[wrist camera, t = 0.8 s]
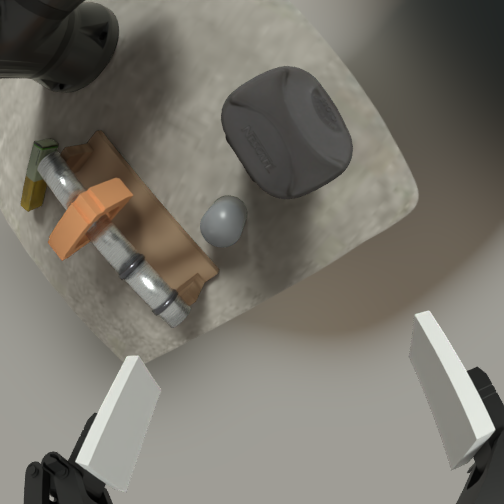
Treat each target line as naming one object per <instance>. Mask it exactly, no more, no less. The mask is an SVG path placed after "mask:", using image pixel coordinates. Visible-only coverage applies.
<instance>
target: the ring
mask: <svg viewBox="0 0 504 504" xmlns="http://www.w3.org/2000/svg"><path fill="white" fill-rule="evenodd" d="M132 196H133V194H132V193H131V192H130V190H129V189H128V188H127V187H126V186H125V184H124V183H123V182H122V181H121V180H120V178H117V177H116V178H113V179H111V180H108V181H105V182H103V183H100V184H98V185H95V186H93V187H90V188H89V189H88V190H87V191H86V192H83V193H81V194H80V195H79V196H78V197H77V199H76V200H75V201H74V202H73V203H71V205H70V206H69V207H68V209H67V210H66V212H65V213H64V215H63V216H62V218H61V219H60V221H59V222H58V224H57V225H56V227H55V228H54V230H53V232H52V233H51V235H50V236H49V238H50V239H49V241H48V243H49V245H50V246H51V247H52V249H53V250H54V251H55V252H56V254H57V255H58V256H59V257H60V259H61V260H62V261H63V260H64V259H66V258H68V257H69V256H71V255H72V254H74V253H75V252H76V251H78V250H79V249H80V248H82V247H83V246H84V245H86V244H87V243H89V242H90V240H89V239H88V237H87V236H86V235H85V233H86V232H87V231H88V229H89V228H90V227H91V226H92V224H93V223H94V222H96V221H97V220H98V219H99V218H100V217H101V216H102V215H104V214H106V215H107V216H108V217H109V218H110V220H112V219H113V218H114V217H115V216H116V215H117V214H118V212H119V211H120V210H121V209H122V208H123V207H124V206H125V205H126V204H127V203H128V202H129V200H130V198H131V197H132Z"/></svg>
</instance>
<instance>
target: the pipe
mask: <svg viewBox="0 0 504 504" xmlns="http://www.w3.org/2000/svg"><path fill="white" fill-rule="evenodd" d="M37 170H38V172H39V173H40V175H41V176H42V178H43V179H44V181H45V182H46V183H47V185H48V186H49V188H50V189H51V191H52V192H53V193H54V195H55V196H56V197H57V199H58V200H59V202H60V203H61V204H62V206H63V207H64V208H65V210H67V209H68V207H69V206H70V205H71V203H73V202H74V201H75V200H76V199H77V197H78V196H79V195H80V194H81V193H83V192H86V191H87V190H86V188H85V187H84V186H83V185H82V183H81V182H80V181H79V179H78V178H77V177H76V175H75V174H74V173H73V171H72V170H71V169H70V167H69V166H68V165H67V163H66V162H65V161H64V159H63V158H62V156H61V155H60V154H59V152H57V151H55V152H52V153H50V154H48V155H47V156H46V157H45V158H44V159H43V160H42V161H41V162H40V164H39V165H38V168H37ZM85 235H86V236H87V237H88V239H89V240H90V241H91V242H92V243H93V245H94V246H95V247H96V248H97V249H98V251H99V252H100V253H101V254H102V255H103V256H104V258H105V259H106V260H107V261H108V262H109V263H110V264H111V266H112V267H113V268H114V269H115V270H116V271H117V272H118V273H119V278H120V279H121V280H123V279H124V280H125V281H126V282H127V283H128V284H129V285H130V286H131V288H132V289H133V290H134V291H135V292H136V293H137V294H138V295H139V296H140V297H141V298H142V299H143V300H144V301H145V302H146V303H147V304H148V305H149V306H150V307H151V308H152V309H153V310H152V312H153V313H154V314H155V315H159V316H160V317H161V318H162V319H163V320H164V321H165V322H166V323H167V324H168V325H169V326H170V327H171V328H174V327H176V326H177V325H179V324H180V323H181V322H182V321H183V320H184V319H185V318H186V317H187V315H188V314H189V312H190V310H191V308H190V307H189V306H188V305H187V304H186V302H185V301H184V300H183V299H182V298H181V297H180V296H179V295H178V291H177V290H176V289H172V288H171V287H170V286H169V285H168V284H167V283H166V282H165V281H164V280H163V278H162V277H161V276H160V275H159V274H158V273H157V272H156V271H155V270H154V269H153V268H152V267H151V266H150V264H149V263H148V262H147V261H146V260H145V259H144V258H145V256H144V255H143V254H140V253H139V252H138V251H137V250H136V249H135V248H134V247H133V245H132V244H131V243H130V242H129V241H128V240H127V238H126V237H125V236H124V235H123V234H122V233H121V231H120V230H119V229H118V228H117V227H116V226H115V224H114V223H113V222H112V221H111V220H110V218H109V217H108V216H107V215H106V214H104V215H102V216H101V217H100V218H99V219H98V220H97V221H96V222H94V223H93V224H92V226H91V227H90V228H89V229H88V231H87V232H86V233H85Z"/></svg>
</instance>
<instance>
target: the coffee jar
mask: <svg viewBox="0 0 504 504" xmlns="http://www.w3.org/2000/svg"><path fill="white" fill-rule="evenodd" d="M221 121H222V126H223V130H224V132H225V134H226V140H227V142H228V143H229V145H230V146H231V148H232V149H233V151H234V152H235V154H236V155H237V157H238V158H239V160H240V161H241V163H242V164H243V166H244V168H245V169H246V171H247V173H248V174H249V176H250V178H251V179H252V180H253V181H254V182H256V183H257V184H258V185H259V186H260V187H261V188H262V189H263V190H264V191H265V192H267V193H268V194H270V195H272V196H274V197H277V198H281V199H293V198H298V197H301V196H303V195H306V194H308V193H310V192H313V191H315V190H317V189H319V188H320V187H322V186H324V185H326V184H328V183H329V182H331V181H332V180H334V179H335V178H337V177H338V176H339V175H341V174H342V173H343V172H344V171H345V170H346V168H347V167H348V165H349V163H350V161H351V158H352V152H353V145H352V139H351V136H350V133H349V131H348V129H347V127H346V125H345V123H344V121H343V119H342V117H341V115H340V113H339V111H338V109H337V107H336V106H335V104H334V103H333V101H332V100H331V98H330V97H329V95H328V94H327V92H326V91H325V90H324V88H323V87H322V85H321V84H320V83H319V82H318V80H317V79H316V78H315V77H314V76H312V75H311V74H310V73H308V72H306V71H304V70H302V69H300V68H297V67H290V66H283V67H278V68H274V69H272V70H269V71H267V72H264V73H262V74H260V75H258V76H256V77H254V78H253V79H251V80H249V81H248V82H246V83H244V84H243V85H241V86H240V87H238V88H237V89H236V90H235V91H233V92H232V93H231V94H230V95H229V97H228V98H227V99H226V101H225V103H224V105H223V108H222V113H221Z"/></svg>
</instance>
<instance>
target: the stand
mask: <svg viewBox="0 0 504 504" xmlns="http://www.w3.org/2000/svg"><path fill="white" fill-rule="evenodd" d="M60 155H61V156H62V158H63V159H64V161H65V162H66V163H67V165H68V166H69V167H70V169H71V170H72V171H73V173H74V174H75V175H76V177H77V178H78V179H79V181H80V182H81V183H82V185H83V186H84V187H85V188H86V190H88V189H89V188H90V187H93V186H95V185H98V184H100V183H103V182H105V181H108V180H111V179H113V178H116V177H117V178H120V180H121V181H122V182H123V183H124V184H125V186H126V187H127V188H128V189H129V190H130V192H131V193H132V194H133V196H132V197H131V198H130V200H129V202H128V203H127V204H126V205H125V206H124V207H123V208H122V209H121V210H120V211H119V212H118V214H117V215H116V216H115V217H114V218H113V219H112V220H111V221H112V222H113V223H114V224H115V226H116V227H117V228H118V229H119V230H120V231H121V233H122V234H123V235H124V236H125V237H126V238H127V240H128V241H129V242H130V243H131V244H132V245H133V247H134V248H135V249H136V250H137V251H138V252H139V253H140V254H143V255H144V256H145V258H144V259H145V260H146V261H147V262H148V263H149V264H150V266H151V267H152V268H153V269H154V270H155V271H156V272H157V273H158V274H159V275H160V276H161V277H162V278H163V280H164V281H165V282H166V283H167V284H168V285H169V286H170V287H171V288H172V289H176V290H177V291H178V295H179V296H180V297H181V298H182V299H183V300H184V301H185V302H186V304H187V305H188V306H190V305H192V304H193V303H195V302H196V300H197V298H198V296H199V294H200V291H201V289H202V287H203V285H204V283H205V282H207V281H208V280H209V279H211V278H212V277H214V276H215V275H216V274H218V272H219V268H218V267H217V266H216V265H215V264H214V263H213V262H212V261H211V260H210V258H209V257H208V256H207V255H206V254H205V253H204V252H203V251H202V249H201V248H200V247H199V246H198V245H197V244H196V243H195V242H194V240H193V239H192V238H191V237H190V236H189V235H188V234H187V232H186V231H185V230H184V229H183V228H182V227H181V226H180V224H179V223H178V222H177V221H176V220H175V219H174V218H173V216H172V215H171V214H170V213H169V212H168V211H167V209H166V208H165V207H164V206H163V205H162V204H161V202H160V201H159V200H158V199H157V198H156V197H155V195H154V194H153V193H152V192H151V191H150V189H149V188H148V187H147V186H146V185H145V183H144V182H143V181H142V180H141V179H140V177H139V176H138V175H137V174H136V173H135V171H134V170H133V169H132V168H131V167H130V165H129V164H128V163H127V162H126V161H125V159H124V158H123V157H122V156H121V154H120V153H119V152H118V151H117V150H116V148H115V147H114V146H113V145H112V143H111V142H110V141H109V140H108V138H107V137H106V136H105V135H104V133H103V132H102V131H101V130H100V131H96V132H95V133H94V135H93V136H92V137H91V139H90V140H89V141H88V142H87V144H81V145H75V146H70V147H65V148H64V149H63V151H62V152H61V154H60Z"/></svg>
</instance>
